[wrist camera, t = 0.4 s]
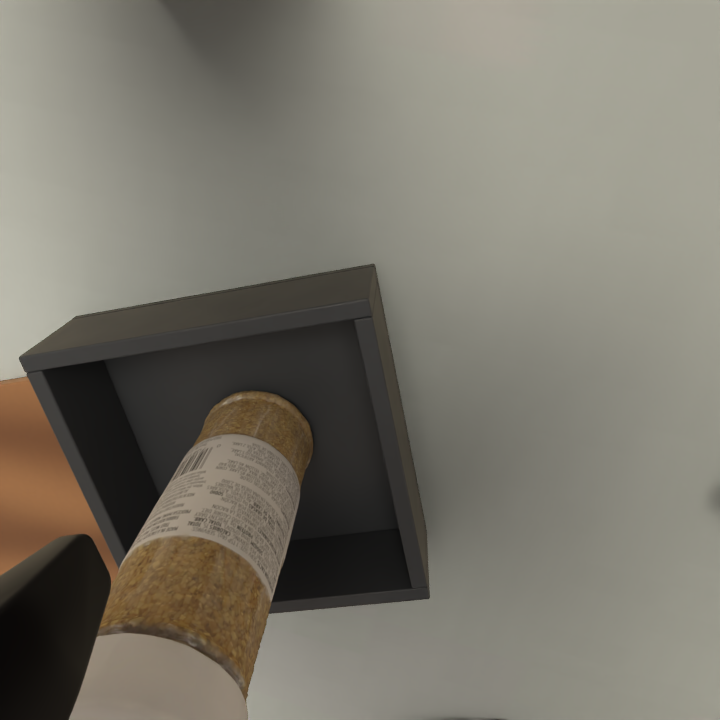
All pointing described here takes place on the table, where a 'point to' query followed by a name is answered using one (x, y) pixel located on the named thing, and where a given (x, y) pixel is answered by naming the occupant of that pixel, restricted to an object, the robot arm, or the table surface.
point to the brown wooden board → (37, 483)
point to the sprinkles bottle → (202, 572)
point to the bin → (245, 373)
